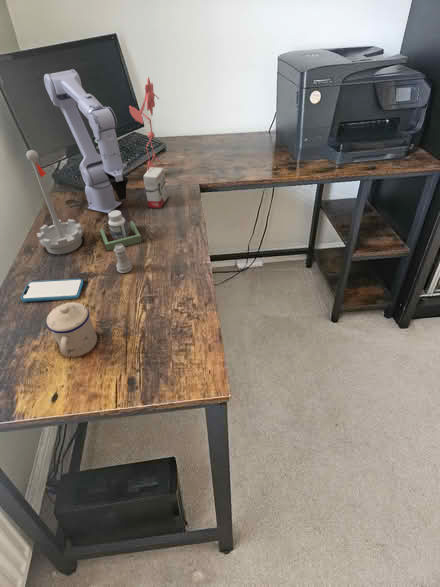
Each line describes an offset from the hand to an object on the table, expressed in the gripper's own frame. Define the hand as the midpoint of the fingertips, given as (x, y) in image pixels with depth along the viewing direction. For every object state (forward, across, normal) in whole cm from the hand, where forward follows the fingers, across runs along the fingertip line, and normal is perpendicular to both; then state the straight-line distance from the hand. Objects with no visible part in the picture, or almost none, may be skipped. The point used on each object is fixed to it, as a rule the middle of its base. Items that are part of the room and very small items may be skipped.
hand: (119, 194), depth 124 cm
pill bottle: (+11, -8, +4) cm, 14 cm away
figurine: (+10, +34, -24) cm, 43 cm away
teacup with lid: (+12, -50, +24) cm, 57 cm away
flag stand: (+11, -4, +21) cm, 24 cm away
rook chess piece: (+11, -26, +7) cm, 29 cm away
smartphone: (+11, -27, +27) cm, 39 cm away
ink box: (+10, +9, -14) cm, 20 cm away
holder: (+11, -8, +4) cm, 14 cm away
